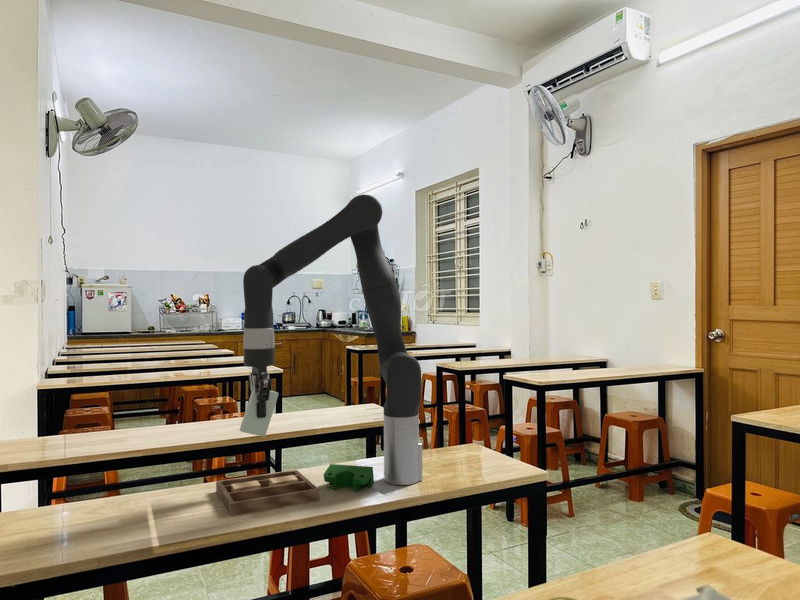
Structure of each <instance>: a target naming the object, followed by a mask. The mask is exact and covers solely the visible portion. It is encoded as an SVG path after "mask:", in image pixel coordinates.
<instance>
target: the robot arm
mask: <svg viewBox="0 0 800 600" xmlns="http://www.w3.org/2000/svg"><path fill="white" fill-rule="evenodd" d="M382 216H383V208H382V204H381V203H380V201H379V199H377V197H375V196H374V195H370V194H360V195H356V196H354V197H353V198H351V199H350V200H349V202H348V203H347V204H346V206H344V207H343V208H342V209H340V211H339V212H337V213H336V214H335V215H333V217H331V218H330V219H328V220H326V221H325V222H324V223H322V224H321V225H319V226H317V227H315V228H314V229H312V230H310V231H309V232H307V233H305V234H304V235H301V236H300V237H298V238H296V239H295V240H293V241H292V242H290V243H288V244H287V245H285V246H284V247H282V248H281V249H279V250H278V251H277V252H275V253H274V254H273V256H271V257H270V258H268V259H266V260H264V261H263V262H261V263H260V264H257V265H252V266H250V267H249V268H248V269H246V270H245V272H244V274H243V279H242V280H243V284H242V285H243V297H244V315H243V317H244V318H243V322H244V325H243V327H244V330H243V336H242V337H243V338H242V340H243V342H242V343H243V346H242V347H243V348H242V349H243V366H245V367H246V368H251V373H249V375H248V381H249V388H250V394H251V393H252V390H253V387H254V393H256V410H257V418H265V417H266V402H267V400H269V393H270V391H271V384H272V380H271V378H270V374H269V373H270V372H269V373H268V368H267V367H271V366H274V365H275V364H276V344H275V343H276V342H275V341H276V339H275V331H274V310H273V291H274V290H273V289H274V288H275V287H277V286H278V285H279V284H280V283H282V282H283V281H284V280H286V279H288V278H289V277H291V276H293V275H295V274H296V273H298V272H301V271H302V270H304V269H305V268H307V266H309V265H311V264H312V263H314V262H315V261H317V260H318V259H319V258H321V257H322V256H323V255H325V254H326V253H327V252H328V251H331V249H333V248H334V247H336V246H337V245H339V244H340V243H342V242H343V241H345V240H347V239H349V238H350V240H351V243H352V246H353V249H354V253H355V256H356V257H355V258H356V262H357V269H358V276H359V279H360V280H359V281H360V285H361V291H362V294H363V295H362V296H363V299H364V304H365V307H366V310H367V313H368V317H369V320H370V324H371V325H370V326H371V327H372V331H373V334H374V337H375V341H376V346H377V348H376V349H377V354H378V361H379V362H378V363H379V370H380V375H381V376H382V377H381V378H383V380H384V382H385V383H386V399H385V402H384V404H383V475H384V477H383V481H384V482H385V483H387V484H389V485H392V486H393V485H396V486H409V485H414V484H417V483H418V482H420V481H423V444H422V443H421V442H420V425H419V424H420V422H419V421H420V420H419V417H420V412H419V411H420V405H421V401H422V370H421V369H422V367H421V364H420V362H419V360H417V358H416V357H414V356H412V355H411V354H409V353H408V350H407V348H406V344H405V341H404V338H403V333H402V305H401V303H402V302H401V298H400V297H401V295H400V292H399V287H398V284H397V280H396V277H395V274H394V271H393V269H392V266H391V265H390V262H389V260H388V259H387V256H386V255H385V252H384V249H383V247H382V243H381V237H380V232H379V224H380V222H381V220H382ZM257 388H259V390H258V389H257ZM262 393H264V396H261V394H262Z"/></svg>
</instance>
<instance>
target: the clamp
mask: <svg viewBox="0 0 800 600" xmlns="http://www.w3.org/2000/svg"><path fill="white" fill-rule="evenodd" d="M323 480H324V482H326V483H328V484H329V485H332V486H333V491H337V490H338V489H341V488H347V487H348V488H353V492H354V493H356V492H357V491H358V490H359V489H360V488H362V487H363V488H366V487H367V486H368V487H367V488H373V486H374V484H375V478H374V467H373V466H368V465H367V466H365V465H353V464H351V465H350V464H349V465H348V464H333V463H331V464H329V466H328V467H327V469H326V470H325V472H324V473H323Z"/></svg>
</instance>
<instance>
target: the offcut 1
mask: <svg viewBox="0 0 800 600" xmlns="http://www.w3.org/2000/svg"><path fill="white" fill-rule="evenodd" d="M256 488H261V485H260V483H259V482H258V481H257V480H255V481H249V482H242V483H235V484H231V492H236V491H243V490H249V489H256Z"/></svg>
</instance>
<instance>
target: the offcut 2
mask: <svg viewBox="0 0 800 600" xmlns="http://www.w3.org/2000/svg"><path fill="white" fill-rule="evenodd" d="M295 482H298V479H297V478H296V477H295V476H294V475H289V476H283V477H276V478H269V486H275V485H282V484H288V483H295Z"/></svg>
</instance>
